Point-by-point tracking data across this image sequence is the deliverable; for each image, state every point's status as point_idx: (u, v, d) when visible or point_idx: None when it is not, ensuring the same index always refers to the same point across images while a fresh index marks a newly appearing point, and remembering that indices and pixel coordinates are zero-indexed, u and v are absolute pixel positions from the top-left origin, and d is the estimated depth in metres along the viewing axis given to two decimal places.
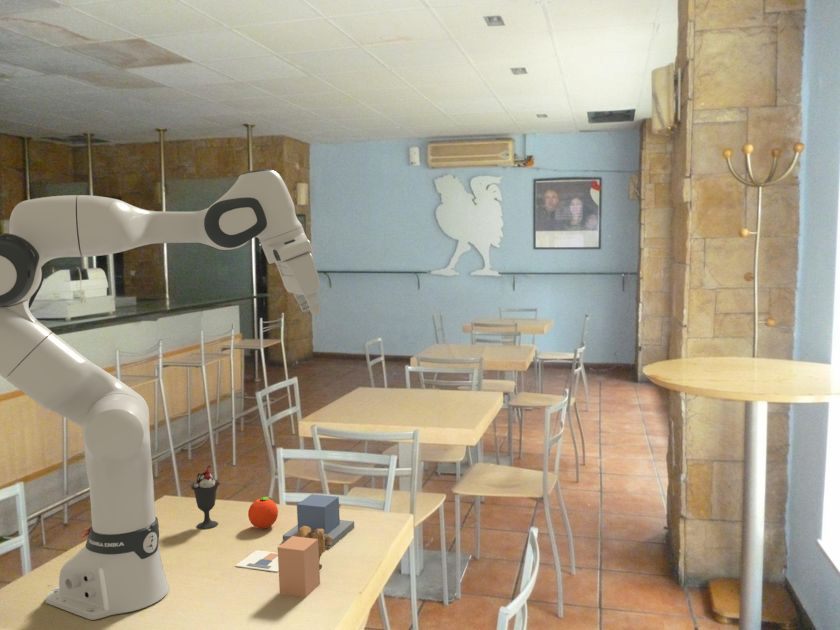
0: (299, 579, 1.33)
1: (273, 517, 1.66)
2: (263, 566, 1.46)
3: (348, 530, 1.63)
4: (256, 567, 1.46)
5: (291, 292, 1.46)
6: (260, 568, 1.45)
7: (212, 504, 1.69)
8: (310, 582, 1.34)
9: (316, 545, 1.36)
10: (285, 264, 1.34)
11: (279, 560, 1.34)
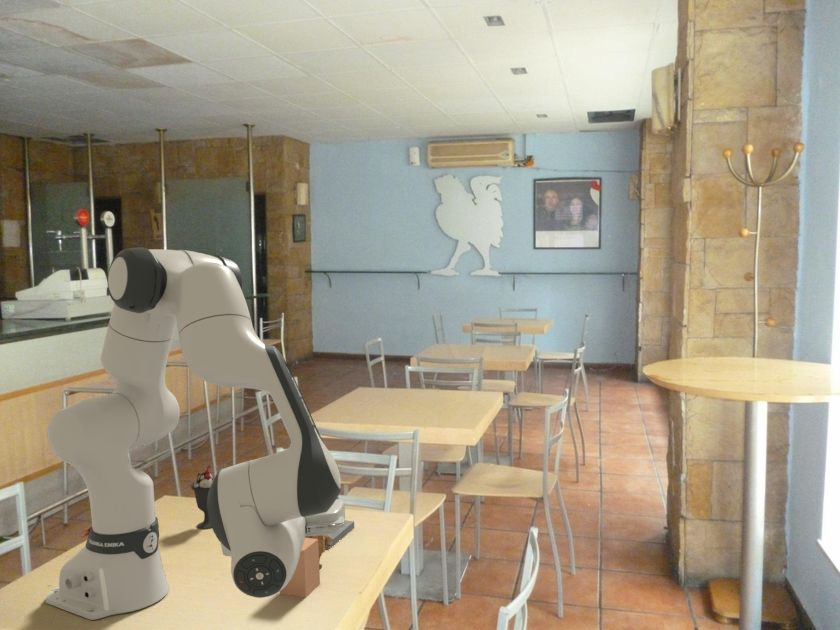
0: (299, 579, 1.33)
1: None
2: None
3: (348, 530, 1.63)
4: None
5: None
6: None
7: None
8: (310, 582, 1.34)
9: (316, 545, 1.36)
10: None
11: None
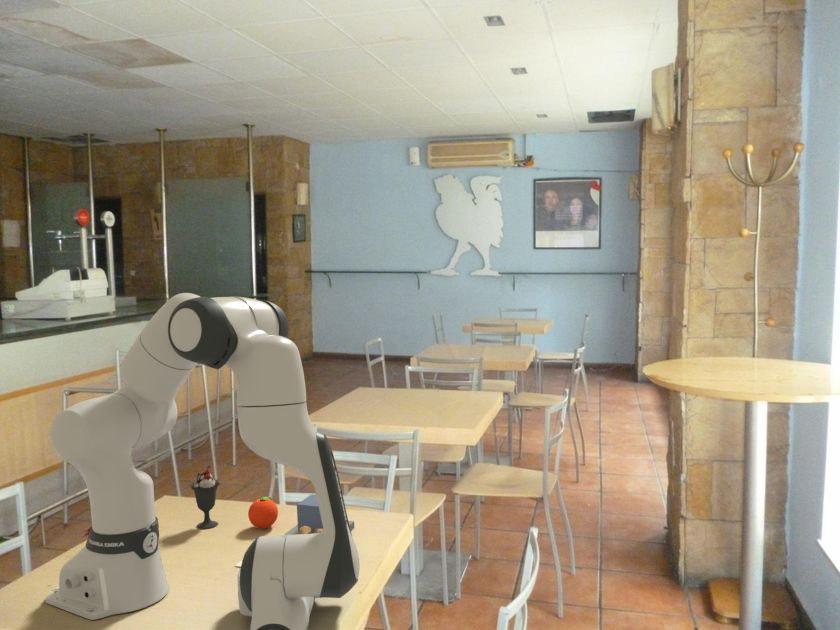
0: None
1: (273, 517, 1.66)
2: None
3: None
4: None
5: None
6: None
7: (212, 504, 1.69)
8: None
9: None
10: None
11: None
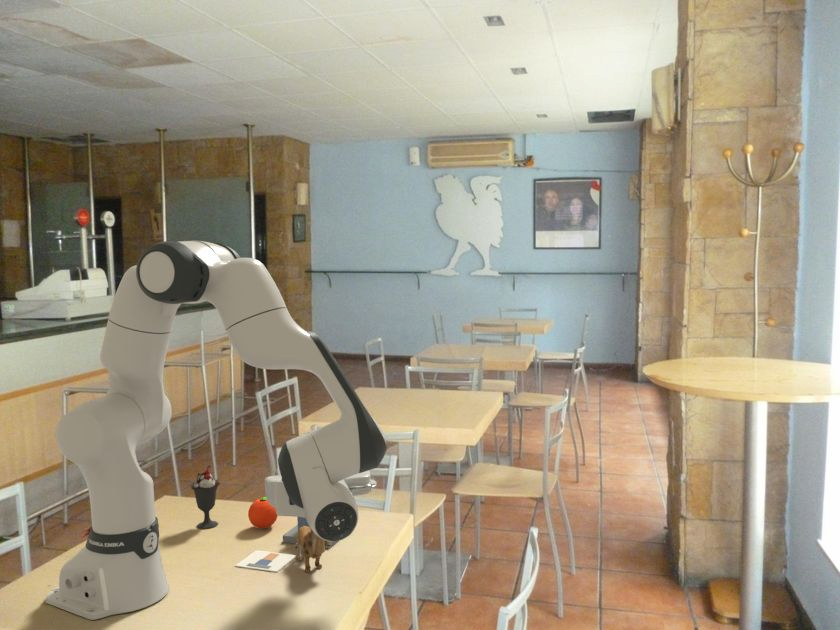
0: None
1: (273, 517, 1.66)
2: (263, 566, 1.46)
3: None
4: (256, 567, 1.46)
5: None
6: (260, 568, 1.45)
7: (212, 504, 1.69)
8: None
9: None
10: None
11: None
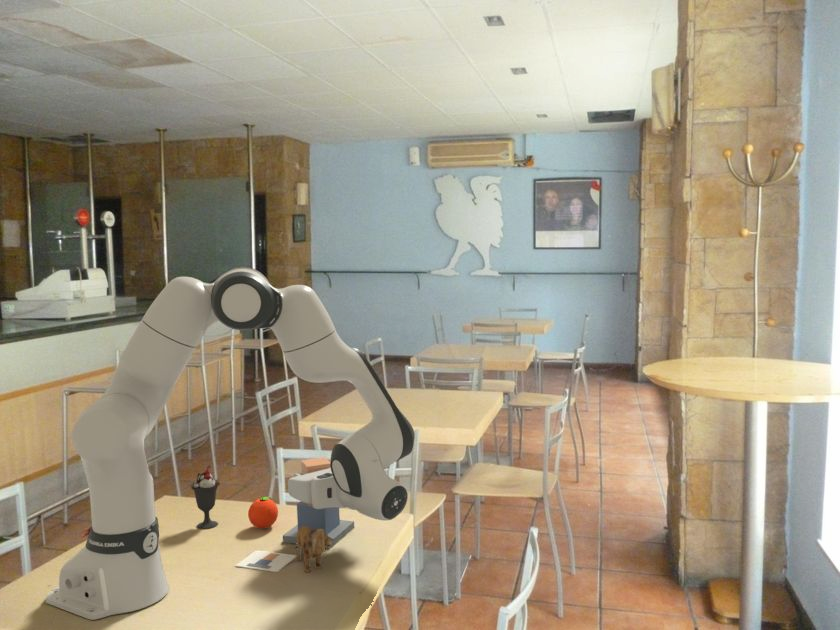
0: None
1: (273, 517, 1.66)
2: (263, 566, 1.46)
3: (348, 530, 1.63)
4: (256, 567, 1.46)
5: None
6: (260, 568, 1.45)
7: (212, 504, 1.69)
8: None
9: None
10: None
11: None
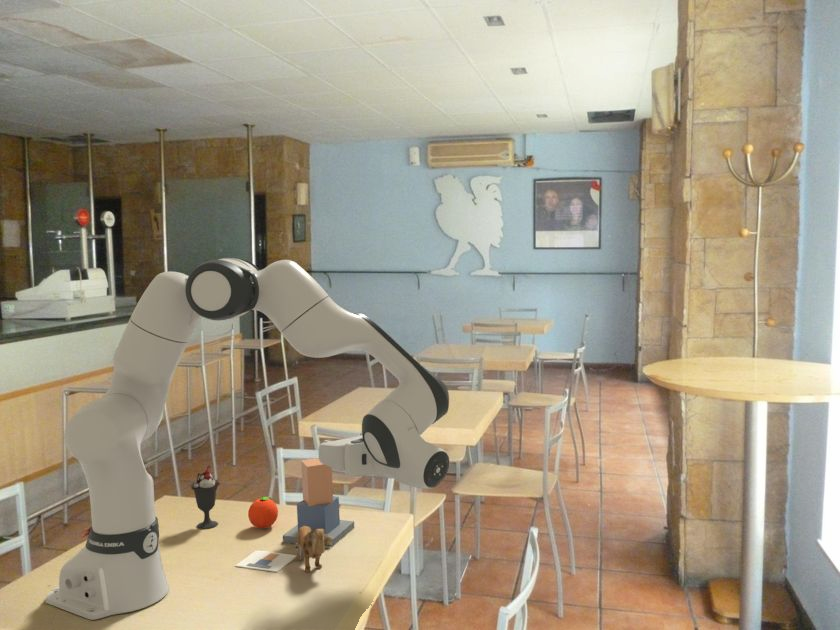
0: (327, 488, 1.60)
1: (273, 517, 1.66)
2: (263, 566, 1.46)
3: (348, 530, 1.63)
4: (256, 567, 1.46)
5: None
6: (260, 568, 1.45)
7: (212, 504, 1.69)
8: None
9: None
10: None
11: (308, 477, 1.58)
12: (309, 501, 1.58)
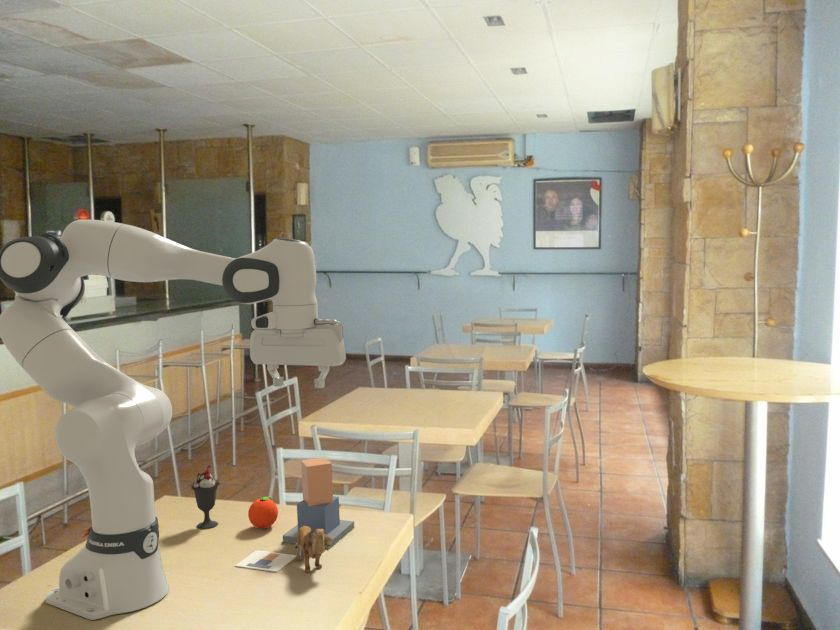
0: (327, 488, 1.60)
1: (273, 517, 1.66)
2: (263, 566, 1.46)
3: (348, 530, 1.63)
4: (256, 567, 1.46)
5: None
6: (260, 568, 1.45)
7: (212, 504, 1.69)
8: None
9: None
10: None
11: (308, 477, 1.58)
12: (309, 501, 1.58)
